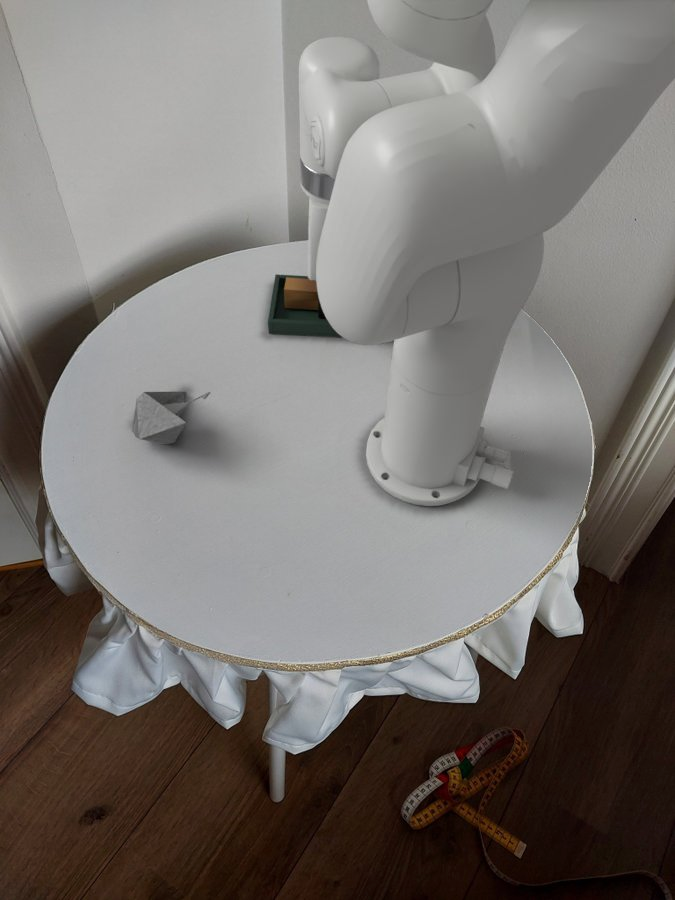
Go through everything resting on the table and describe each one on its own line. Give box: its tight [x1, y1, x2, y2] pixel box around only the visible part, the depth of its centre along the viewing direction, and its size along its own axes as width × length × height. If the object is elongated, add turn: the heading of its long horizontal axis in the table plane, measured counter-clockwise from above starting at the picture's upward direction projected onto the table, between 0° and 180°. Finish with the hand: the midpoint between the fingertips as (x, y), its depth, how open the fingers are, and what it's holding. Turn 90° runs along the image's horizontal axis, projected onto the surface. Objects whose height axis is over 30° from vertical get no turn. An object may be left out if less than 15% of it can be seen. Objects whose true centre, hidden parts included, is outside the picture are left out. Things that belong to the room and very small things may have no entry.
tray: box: [267, 274, 394, 342], centre depth 90 cm, size 17×9×2 cm, turn 87°
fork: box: [284, 277, 318, 310], centre depth 89 cm, size 14×4×3 cm, turn 85°
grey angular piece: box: [131, 391, 211, 445], centre depth 77 cm, size 12×6×9 cm
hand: (332, 302), depth 90 cm, fingers closed on fork, 4 cm apart
